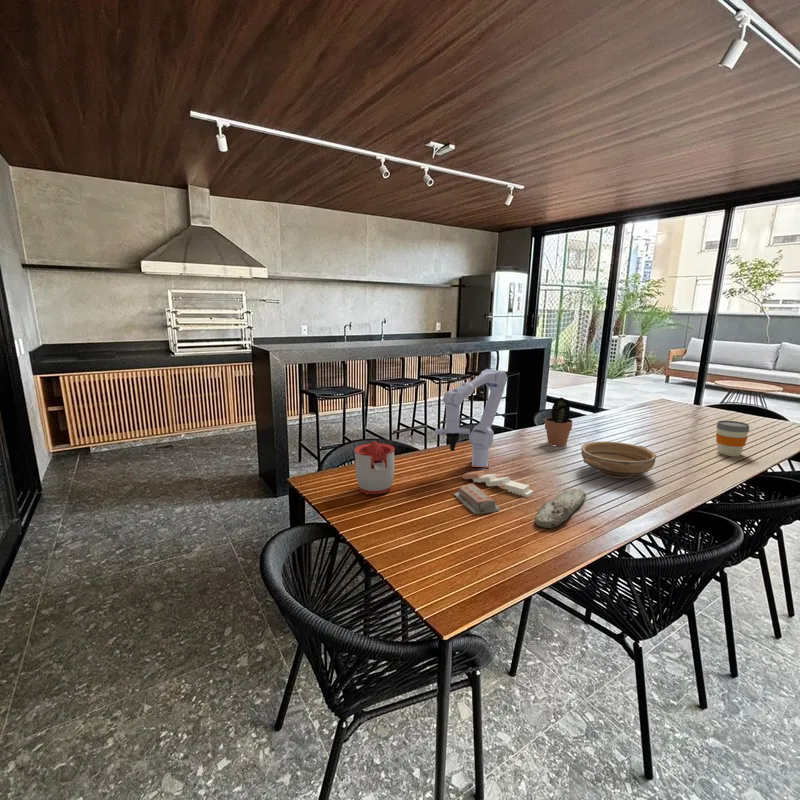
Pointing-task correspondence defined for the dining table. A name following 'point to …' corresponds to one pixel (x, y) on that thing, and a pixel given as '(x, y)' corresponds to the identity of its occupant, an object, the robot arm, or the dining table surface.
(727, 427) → the reusable coffee cup
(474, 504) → the packaged product
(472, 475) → the brown rectangular block
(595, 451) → the ceramic bowl
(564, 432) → the potted plant
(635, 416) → the dining table surface
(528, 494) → the domino
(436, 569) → the dining table surface
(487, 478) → the cream white flat block
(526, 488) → the domino
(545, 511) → the long grey stone
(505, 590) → the dining table surface
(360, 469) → the citrus juicer
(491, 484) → the domino
